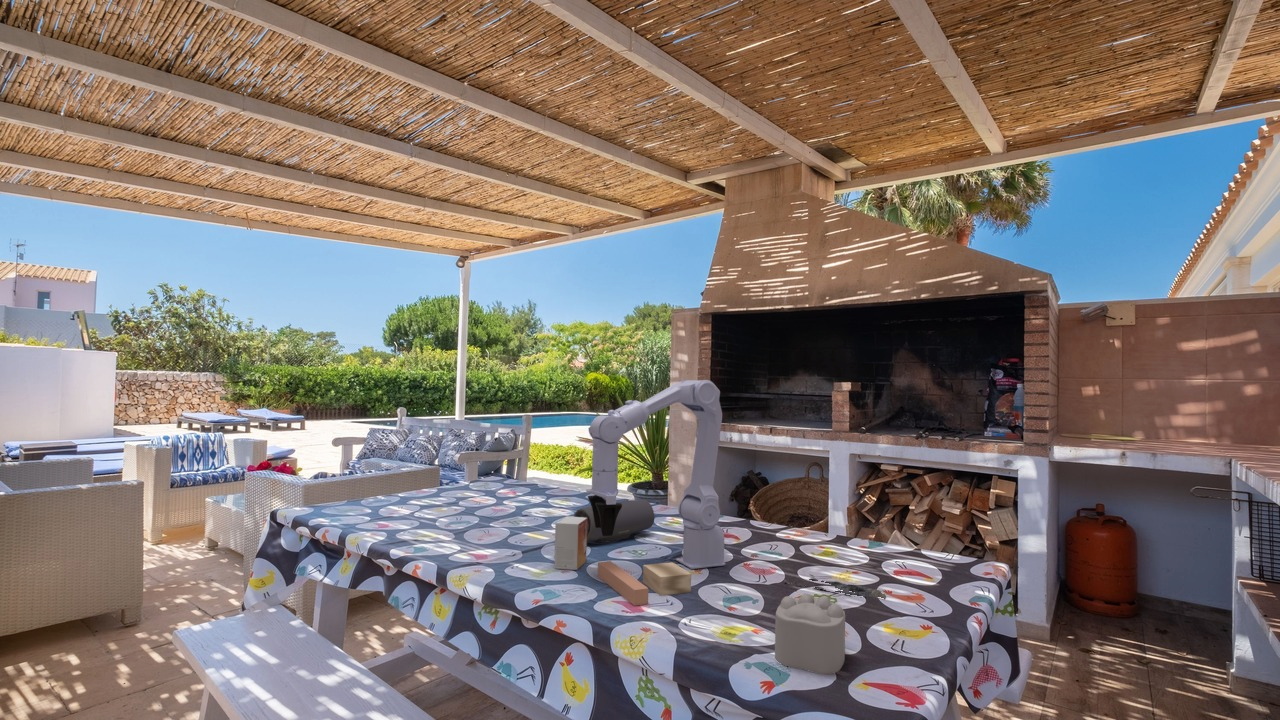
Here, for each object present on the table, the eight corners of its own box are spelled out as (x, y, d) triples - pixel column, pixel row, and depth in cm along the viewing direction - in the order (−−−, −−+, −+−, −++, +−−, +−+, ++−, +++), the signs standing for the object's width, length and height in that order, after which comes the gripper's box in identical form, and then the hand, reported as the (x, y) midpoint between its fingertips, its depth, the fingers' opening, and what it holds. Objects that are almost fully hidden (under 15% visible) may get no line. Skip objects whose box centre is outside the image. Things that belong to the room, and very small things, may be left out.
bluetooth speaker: (633, 530, 186) (634, 495, 186) (655, 536, 179) (656, 500, 179) (570, 541, 170) (571, 504, 171) (591, 549, 163) (593, 510, 164)
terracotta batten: (610, 574, 142) (610, 561, 142) (648, 603, 124) (648, 588, 124) (597, 575, 141) (598, 562, 141) (634, 605, 122) (634, 590, 122)
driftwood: (889, 597, 133) (889, 587, 133) (882, 606, 127) (882, 596, 127) (793, 579, 144) (793, 570, 144) (783, 587, 139) (783, 578, 139)
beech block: (672, 580, 140) (672, 562, 140) (690, 593, 131) (691, 574, 131) (642, 583, 137) (643, 565, 137) (660, 597, 129) (660, 577, 129)
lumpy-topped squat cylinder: (769, 663, 99) (770, 606, 99) (787, 634, 110) (788, 583, 111) (838, 678, 94) (839, 619, 95) (850, 646, 106) (850, 593, 106)
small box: (577, 571, 144) (578, 524, 144) (553, 569, 145) (554, 522, 145) (587, 561, 152) (588, 517, 152) (564, 559, 153) (565, 515, 153)
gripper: (581, 465, 147) (580, 524, 147) (593, 474, 133) (591, 540, 133) (611, 465, 149) (610, 523, 148) (626, 474, 135) (624, 538, 134)
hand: (603, 531), depth 141 cm, fingers open, 7 cm apart
